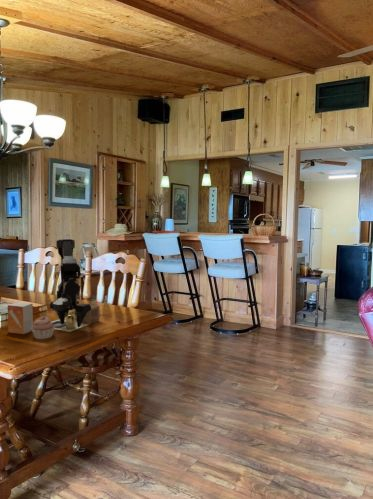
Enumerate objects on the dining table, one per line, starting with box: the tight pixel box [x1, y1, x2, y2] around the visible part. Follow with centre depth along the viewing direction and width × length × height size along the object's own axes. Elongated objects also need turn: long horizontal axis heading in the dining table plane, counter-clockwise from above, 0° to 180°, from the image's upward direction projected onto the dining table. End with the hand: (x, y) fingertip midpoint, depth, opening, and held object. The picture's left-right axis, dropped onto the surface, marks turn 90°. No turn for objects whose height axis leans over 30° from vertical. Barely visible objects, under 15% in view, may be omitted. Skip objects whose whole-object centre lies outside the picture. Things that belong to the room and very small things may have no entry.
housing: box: [75, 304, 100, 325], centre depth 191 cm, size 8×7×7 cm
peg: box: [65, 313, 76, 330], centre depth 180 cm, size 4×4×6 cm
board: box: [51, 309, 98, 333], centre depth 189 cm, size 18×20×5 cm
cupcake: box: [31, 315, 55, 340], centre depth 169 cm, size 9×9×10 cm
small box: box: [7, 301, 34, 335], centre depth 176 cm, size 8×6×13 cm
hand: (70, 325), depth 181 cm, fingers open, 9 cm apart
